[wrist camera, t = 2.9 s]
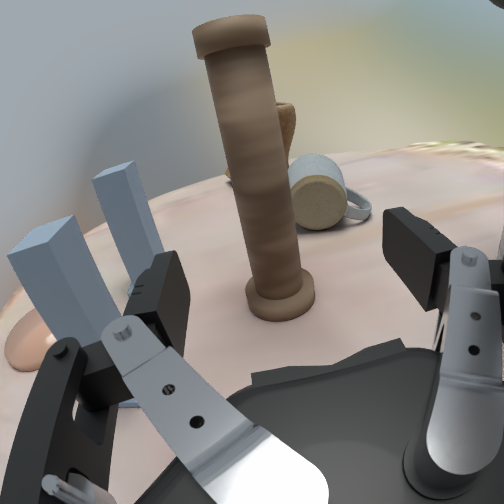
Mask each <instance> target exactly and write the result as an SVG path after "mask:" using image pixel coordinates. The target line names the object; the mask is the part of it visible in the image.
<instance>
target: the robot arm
mask: <svg viewBox="0 0 504 504" xmlns="http://www.w3.org/2000/svg"><path fill="white" fill-rule="evenodd" d="M490 1H491V2H492V3H493V4H494V5H496V6H498V7H500V8H502V9H504V0H490ZM382 248H383V254H384V257H385V259H386V261H387V262H388V263H389V265H390V266H391V267H392V268H393V270H394V271H395V272H396V273H397V275H398V276H399V277H400V279H401V280H402V281H403V282H404V284H405V285H406V286H407V288H408V289H409V290H410V292H411V293H412V294H413V296H414V297H415V298H416V300H417V301H418V302H419V304H420V305H421V306H422V308H423V309H424V310H425V312H427V311H430V310H433V309H436V308H438V309H439V313H438V317H437V323H436V329H435V334H434V340H433V345H432V350H430V349H425V348H405V346H404V344H403V342H402V341H401V339H400V338H398V339H395V340H391V341H388V342H385V343H381V344H378V345H374V346H371V347H367V348H365V349H363V350H361V351H359V352H357V353H355V354H353V355H352V356H350V357H348V358H346V359H344V360H342V361H340V362H338V363H335V364H333V365H326V366H288V367H283V368H278V369H272V370H267V371H261V372H256V373H251V378H252V385H250V386H247V387H245V388H243V389H241V390H239V391H237V392H236V393H234V394H232V395H231V396H229V397H228V398H227V399H225V398H224V397H222V396H221V395H220V394H219V393H218V392H217V391H216V390H215V389H214V388H213V387H212V386H211V385H210V384H209V383H207V382H206V381H205V380H204V379H203V378H202V377H201V376H200V375H199V374H198V373H197V372H196V371H195V370H194V369H193V368H192V367H191V366H190V365H189V364H188V363H187V362H186V361H185V360H184V359H183V355H184V346H185V338H186V330H187V322H188V314H189V307H190V290H189V286H188V283H187V280H186V277H185V274H184V271H183V269H182V266H181V263H180V260H179V257H178V254H177V252H176V251H175V250H173V251H169V252H164V253H159V254H156V255H155V257H154V259H153V262H152V265H151V267H150V268H149V269H145V270H144V271H143V272H142V273H141V275H140V276H139V277H138V278H137V280H136V283H135V285H134V288H133V290H132V293H131V296H130V298H129V300H128V303H127V306H126V308H125V311H124V314H123V316H122V317H119V318H117V319H115V320H114V321H112V322H111V323H109V324H108V325H107V326H106V327H105V329H104V330H103V332H102V335H101V340H100V341H97V342H95V343H92V344H89V345H87V346H84V347H82V346H81V345H80V343H79V342H78V340H77V339H76V338H74V337H66V338H62V339H60V340H58V341H57V342H55V343H54V344H53V345H52V346H51V347H50V348H49V349H48V351H47V352H46V354H45V357H44V359H43V361H42V364H41V366H40V368H39V371H38V373H37V376H36V378H35V381H34V383H33V386H32V389H31V391H30V394H29V397H28V399H27V402H26V405H25V408H24V411H23V413H22V416H21V419H20V422H19V426H18V429H17V432H16V435H15V438H14V442H13V445H12V449H11V452H10V456H9V460H8V464H7V468H6V472H5V476H4V481H3V485H2V490H1V495H0V504H117V503H116V501H115V499H114V497H113V496H112V495H111V494H110V493H109V492H108V485H109V474H110V465H111V456H112V448H113V440H114V433H115V426H116V419H117V413H118V406H119V403H121V402H124V401H127V400H130V399H133V398H135V399H136V401H137V402H138V404H139V405H140V407H141V408H142V410H143V411H144V413H145V414H146V416H147V417H148V418H149V420H150V421H151V423H152V424H153V425H154V427H155V428H156V430H157V431H158V432H159V434H160V435H161V436H162V438H163V439H164V440H165V442H166V443H167V444H168V445H169V447H170V448H171V449H172V451H173V452H174V453H175V454H176V457H175V458H174V460H173V461H172V462H171V463H170V464H169V465H168V466H167V468H166V469H165V470H164V471H163V472H162V473H161V474H160V476H159V477H158V478H157V479H156V480H155V481H154V482H153V483H152V485H151V486H150V487H149V488H148V489H147V490H146V491H145V492H144V493H143V494H142V495H141V497H140V498H139V499H138V500H137V501H136V502H135V503H134V504H504V381H502V341H503V343H504V227H503V232H502V237H501V240H500V245H499V251H498V256H497V260H488V258H487V256H486V255H485V254H484V253H483V252H481V251H480V250H478V249H476V248H472V247H467V246H462V247H457V246H456V245H455V244H454V243H452V242H451V241H450V240H449V239H448V238H447V237H445V236H444V235H443V234H441V233H440V232H439V231H438V230H437V229H436V228H435V229H434V227H433V226H432V225H431V224H430V223H429V222H427V221H426V220H423V219H421V218H418V217H415V216H414V215H413V214H411V213H410V212H409V211H408V210H406V209H405V208H404V207H397V208H392V209H386V210H385V211H384V212H383V239H382ZM75 399H76V400H77V401H78V402H79V404H78V408H77V412H76V416H75V420H73V416H72V411H73V406H74V403H75Z"/></svg>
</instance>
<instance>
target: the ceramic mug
mask: <svg viewBox="0 0 504 504" xmlns="http://www.w3.org/2000/svg"><path fill="white" fill-rule="evenodd" d="M288 176H289V183H290V189H291V196H292V203H293V210H294V217H295V222H297V223H298V224H299V225H301V226H302V227H304V228H308V229H312V230H322V229H327V228H329V227H331V226H333V225H335V224H336V223H337V222H339V221H340V220H341V218H342V217H343V216H345V217H347V218H350V219H355V220H365V219H367V218H368V216H369V214H370V211H371V209H372V206H371V204H370V202H369V201H368V200H367V199H366V198H365V197H363V196H362V195H360V194H359V193H357V192H355V191H353V190H351V189H349V188H347V187H345V184H344V180H343V176H342V173H341V170H340V168H339V167H338V166H337V164H336V163H335V162H334V161H332V160H331V159H330V158H328V157H326V156H323V155H320V154H307V155H304V156H301V157H299V158H297V159H296V160H295V161H294V162H293V163H292V164H291V165H290V167H289V169H288ZM347 200H348V201H350V202H352V203H354V204H356V205H357V206H359V207H360V208H361V209H360V208H356V207H353V206H349V205H348V204H347Z"/></svg>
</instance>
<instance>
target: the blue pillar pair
mask: <svg viewBox="0 0 504 504" xmlns="http://www.w3.org/2000/svg"><path fill="white" fill-rule="evenodd" d="M92 182H93V185H94V188H95V191H96V194H97V196H98V199H99V202H100V205H101V208H102V210H103V213H104V215H105V218H106V221H107V223H108V226H109V229H110V231H111V234H112V236H113V239H114V241H115V243H116V246H117V248H118V251H119V253H120V255H121V258H122V260H123V262H124V265H125V267H126V269H127V272H128V274H129V276H130V278H131V281H132V283H131V286H130V288H129V291H128V293H127V294H128V296H129V298H130V296H131V293H132V290H133V288H134V285H135V283H136V280H137V278H138V277H139V276H140V275H141V273H142V272H143V271H144V270H145V269H149V268H150V267H151V265H152V262H153V259H154V257H155V255H156V254H159V253H164V252H165V251H164V248H163V246H162V243H161V240H160V237H159V234H158V232H157V229H156V226H155V223H154V220H153V217H152V214H151V211H150V208H149V205H148V202H147V199H146V196H145V192H144V189H143V186H142V183H141V180H140V177H139V173H138V170H137V167H136V163H135V161H130V162H128V163H124V164H121V165H118V166H115V167H112V168H109V169H106V170H104V171H102V172H101V173H100V174H99V175H97V176H96V177H94V178H93V179H92ZM7 257H8V259H9V261H10V263H11V265H12V267H13V269H14V271H15V272H16V274H17V276H18V278H19V280H20V282H21V284H22V285H23V287H24V289H25V291H26V292H27V294H28V296H29V298H30V299H31V301H32V303H33V304H34V306H35V308H36V309H37V311H38V312H39V314H40V316H41V317H42V319H43V320H44V322H45V323H46V325H47V326H48V328H49V329H50V331H51V332H52V334H53V335H54V337H55V338H56V340H57V341H58V340H60V339H62V338H66V337H74V338H76V339H77V340H78V342H79V343H80V345H81V346H82V347H84V346H87V345H89V344H92V343H95V342H97V341H100V340H101V335H102V332H103V330H104V329H105V327H106V326H107V325H108V324H109V323H111V322H112V321H114V320H115V319H117V318H119V317H122V316H121V314H120V312H119V310H118V308H117V306H116V304H115V302H114V301H113V299H112V297H111V295H110V293H109V291H108V289H107V287H106V285H105V283H104V281H103V279H102V277H101V275H100V272H99V270H98V268H97V266H96V264H95V262H94V260H93V257H92V255H91V253H90V251H89V248H88V246H87V244H86V242H85V239H84V237H83V235H82V232H81V230H80V227H79V225H78V223H77V220H76V218H75V215H71V216H68V217H65V218H62V219H59V220H56V221H53V222H50V223H48V224H45V225H42V226H39V227H36V228H34V229H33V230H32V231H31V232H30V233H29V234H28V235H27V236H26V237H25V238H24V239H23V240H21V241H20V242H19V243H18V244H17V245H16V246H15V247H14V249H12V250H11V251H10V252H9V253H8V254H7ZM118 407H140V405H139V404H138V402H137V401H136V399H135V398H133V399H130V400H127V401H124V402H121V403H119V406H118Z"/></svg>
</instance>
